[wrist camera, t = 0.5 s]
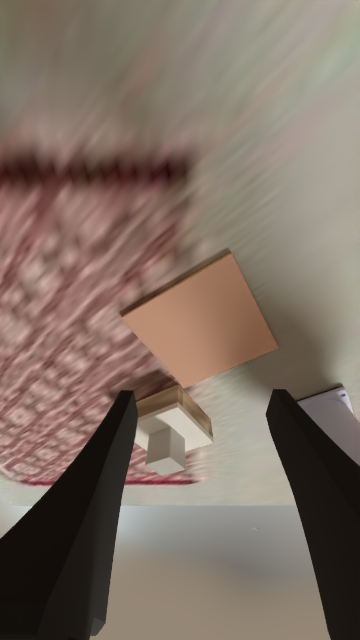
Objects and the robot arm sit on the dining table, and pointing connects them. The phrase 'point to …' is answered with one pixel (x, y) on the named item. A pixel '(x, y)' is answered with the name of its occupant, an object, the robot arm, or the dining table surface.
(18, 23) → the dining table surface
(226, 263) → the mat
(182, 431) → the lid
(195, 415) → the box
